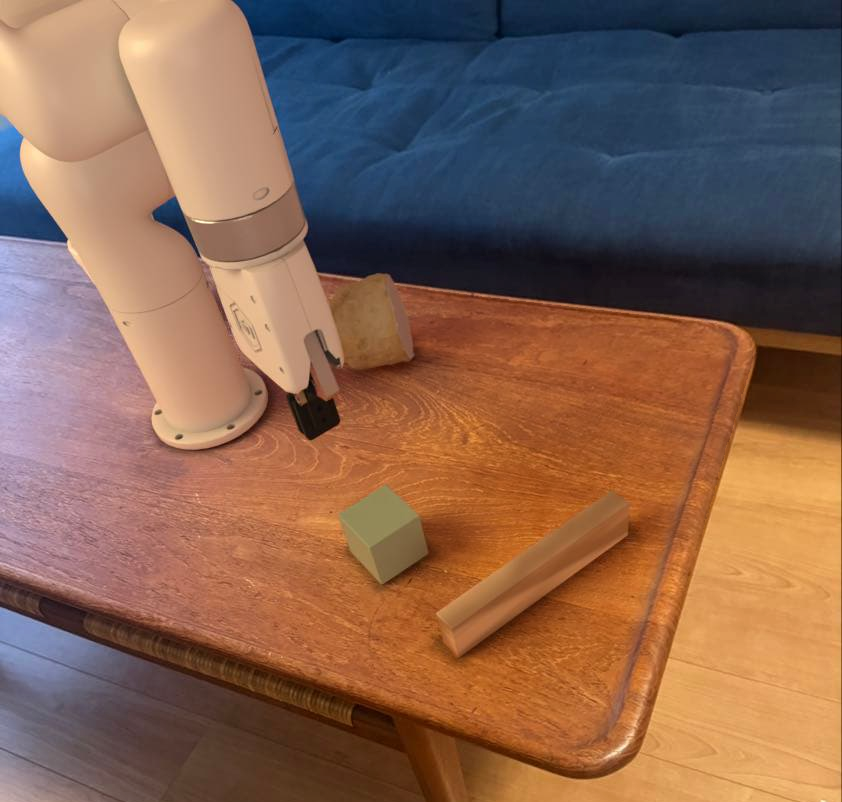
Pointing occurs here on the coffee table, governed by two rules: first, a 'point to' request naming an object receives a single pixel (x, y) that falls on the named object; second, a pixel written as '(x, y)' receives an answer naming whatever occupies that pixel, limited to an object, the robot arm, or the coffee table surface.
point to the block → (384, 533)
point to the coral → (372, 323)
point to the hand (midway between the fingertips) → (320, 427)
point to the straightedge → (533, 573)
